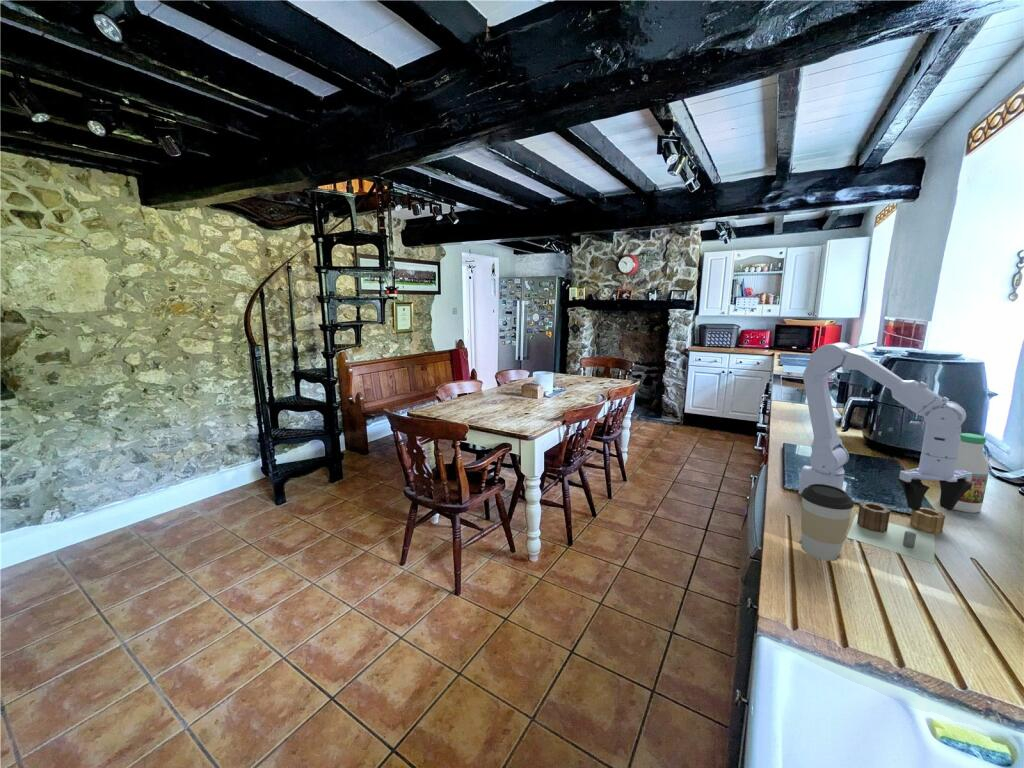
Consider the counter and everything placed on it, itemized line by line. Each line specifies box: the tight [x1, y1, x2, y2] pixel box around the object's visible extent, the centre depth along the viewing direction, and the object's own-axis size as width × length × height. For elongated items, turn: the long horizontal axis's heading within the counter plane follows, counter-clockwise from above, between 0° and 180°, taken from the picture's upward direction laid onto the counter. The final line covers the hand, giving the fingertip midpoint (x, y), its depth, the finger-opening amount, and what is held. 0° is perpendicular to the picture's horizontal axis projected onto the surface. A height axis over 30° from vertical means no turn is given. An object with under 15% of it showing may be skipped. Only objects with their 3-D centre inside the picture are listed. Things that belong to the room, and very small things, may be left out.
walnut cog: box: [857, 501, 891, 533], centre depth 96 cm, size 5×5×5 cm
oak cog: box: [909, 506, 946, 534], centre depth 96 cm, size 5×5×5 cm
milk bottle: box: [938, 432, 990, 514], centre depth 106 cm, size 8×8×20 cm
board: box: [846, 513, 936, 565], centre depth 92 cm, size 14×15×4 cm
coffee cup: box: [800, 484, 855, 562], centre depth 88 cm, size 9×9×15 cm
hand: (929, 508), depth 95 cm, fingers open, 7 cm apart
